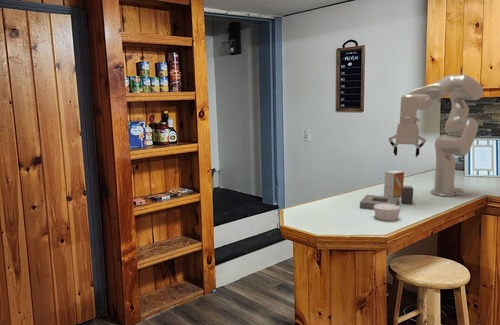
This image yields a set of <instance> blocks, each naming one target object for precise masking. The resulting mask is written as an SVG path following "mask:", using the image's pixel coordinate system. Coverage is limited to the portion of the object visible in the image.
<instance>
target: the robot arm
mask: <svg viewBox="0 0 500 325" xmlns="http://www.w3.org/2000/svg"><path fill="white" fill-rule="evenodd" d="M447 95H448V96H449V100H450V103H451V110H450V112H449V114H448V117H447V120H446V123H445V126H444V131H445V133H446V134H448V135H446V134H444V135H439V136H438V137H437V138H435V141H434V149H435V170H434V171H435V172H434V187H433V188H434V189H432V190H431V191H430V194H432V195H433V196H438V197H439V196H440V197H455V196H457V193H461V194H462V193H464V189H463V188H461V187H458V188H457V187H455V173H456V159H455V155H456V156H466V155H468V153H469V152H470V150H471V148H472V146H473V145H474V144H473V143H474V141H475V139H476V136H477V133H478V129H479V124H478V122H477V120H476V119H475V118H473V117H468V116H469V112H470V110H469V106H468V105H467V103H466V101H477V100H479V99H481V98H482V96H483V95H484V89H483V86H482V85H481V83H479V81H477V80H476V79H474V78H473V77H471V76H469V75H467V74H449V75H446V76H444V77H442V78H440V79H438V80H437V81H435V82H433V83H431V84H429V85H424V86H422V87H418V88H416V89H413V90H411V91H409V92H407V93H406V94H404V95H402V96H401V97H400V109H399V110H400V111H399V112H400V113H399V114H400V115H399V122H398V124H397V127H396V134H395V135H393V136H391V137H389V138H388V142H389V143H390V145H391V146H392V147H393V154H394V157H396V156H397V155H398V145H412V146H413V145H414V146H415V147H416V148H415V157H416V158H418V156H419V155H420V149H421V148H422V146H424V145H425V144H426V141H427V139H426V138H425V137H422V136H420V134H419V124H418V122H420V118H417V117H418V116H417V114H418V111H426V110H428V109H430V108H431V107H432V105H433V101H437V100H442V99H443V98H444V97H446V96H447ZM393 139H395V142H394V141H393ZM419 140H420V141H421V143H420V144H419Z"/></svg>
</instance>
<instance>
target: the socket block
mask: <svg viewBox="0 0 500 325" xmlns="http://www.w3.org/2000/svg"><path fill="white" fill-rule="evenodd" d="M376 204H394V205H398V206H399V205H400V197H398V196H397V197H389V196H385V195H373V194H365V195H364V197H363V198H362V199H361V200H360V202H359V209H366V210H372V211H374V205H376Z"/></svg>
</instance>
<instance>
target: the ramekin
mask: <svg viewBox="0 0 500 325" xmlns="http://www.w3.org/2000/svg"><path fill="white" fill-rule="evenodd" d="M373 211H374V215H375V218H376V219H378V220H380V221H387V222H389V221H393V222H394V221H396V220H397V219H398V218H399V217H400V213H401V212H400V211H401V206H399V205H394V204H376V205H374V210H373Z"/></svg>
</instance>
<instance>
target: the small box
mask: <svg viewBox="0 0 500 325" xmlns="http://www.w3.org/2000/svg"><path fill="white" fill-rule="evenodd" d="M404 176H405V171H402V170H395V169H393V170H388V171H384V181H383V182H384V183H383V185H384V186H383V187H384V188H383V196H386V197H397V198H398V197H401V186H404V179H405V177H404Z"/></svg>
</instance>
